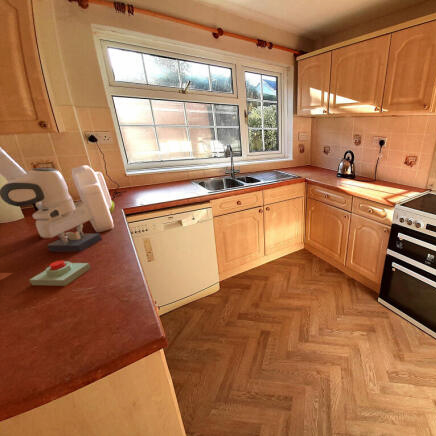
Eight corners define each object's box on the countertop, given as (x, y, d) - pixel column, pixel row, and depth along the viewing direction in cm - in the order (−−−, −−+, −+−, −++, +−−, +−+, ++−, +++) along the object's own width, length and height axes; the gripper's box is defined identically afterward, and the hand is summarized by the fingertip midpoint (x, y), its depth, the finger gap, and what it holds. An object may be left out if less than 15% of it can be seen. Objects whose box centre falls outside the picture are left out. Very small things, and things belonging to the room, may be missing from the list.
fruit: (94, 218, 135) (88, 201, 131) (101, 213, 143) (95, 196, 140) (113, 216, 138) (107, 199, 134) (118, 210, 146) (113, 194, 142)
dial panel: (49, 251, 101) (46, 244, 100) (73, 239, 111) (70, 233, 110) (80, 251, 100) (77, 245, 99) (101, 239, 110) (99, 233, 109)
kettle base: (32, 285, 80) (26, 275, 78) (60, 267, 89) (56, 258, 88) (65, 285, 79) (60, 275, 77) (91, 268, 88) (87, 258, 87)
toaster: (124, 228, 121) (104, 168, 109) (96, 236, 114) (72, 172, 102) (113, 215, 139) (94, 162, 128) (88, 221, 132) (67, 165, 120)
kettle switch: (48, 270, 81) (46, 266, 81) (59, 264, 85) (56, 260, 84) (58, 270, 81) (56, 266, 80) (68, 264, 84) (66, 260, 84)
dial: (67, 239, 104) (64, 232, 103) (70, 238, 105) (67, 231, 104) (78, 239, 104) (75, 232, 102) (81, 238, 105) (78, 231, 104)
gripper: (76, 199, 109) (87, 227, 114) (27, 216, 90) (43, 249, 95) (89, 199, 108) (99, 227, 114) (42, 216, 90) (57, 249, 95)
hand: (73, 237), depth 104 cm, fingers open, 5 cm apart
